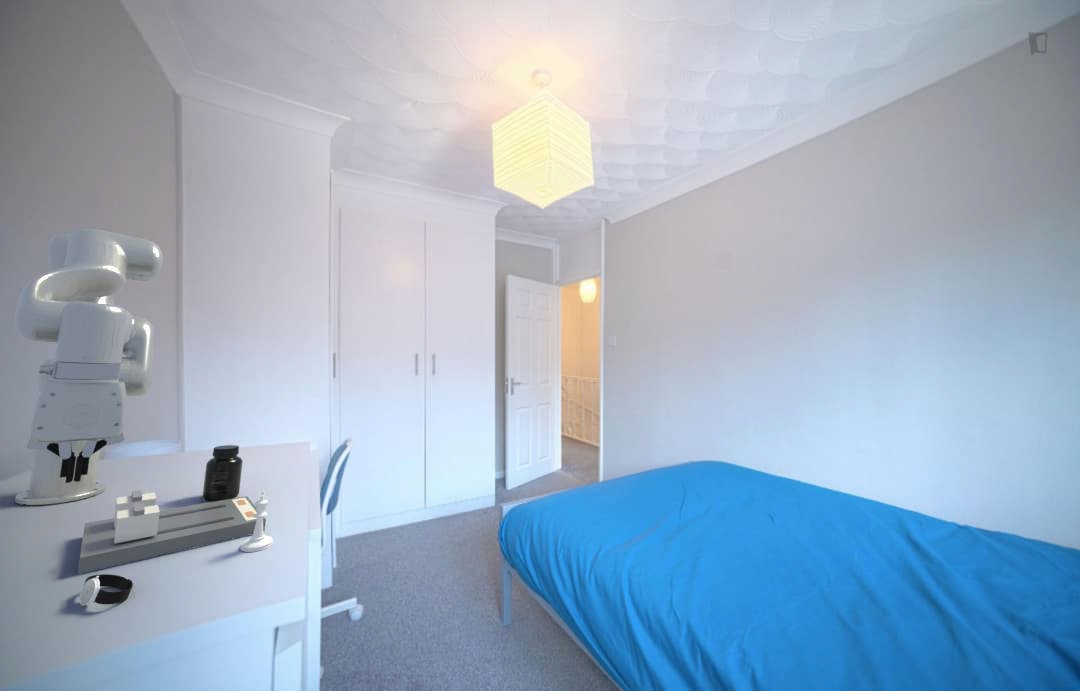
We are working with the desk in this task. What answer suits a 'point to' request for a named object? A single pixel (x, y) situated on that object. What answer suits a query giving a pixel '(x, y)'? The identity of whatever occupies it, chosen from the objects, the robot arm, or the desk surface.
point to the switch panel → (169, 533)
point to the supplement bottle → (223, 474)
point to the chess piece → (258, 530)
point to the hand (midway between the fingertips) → (73, 480)
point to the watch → (95, 594)
